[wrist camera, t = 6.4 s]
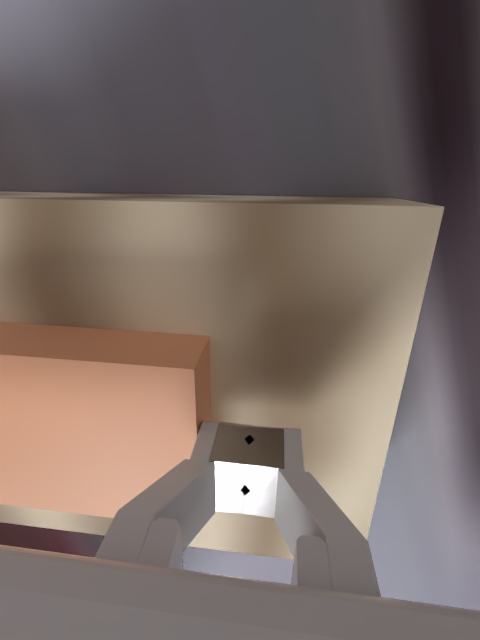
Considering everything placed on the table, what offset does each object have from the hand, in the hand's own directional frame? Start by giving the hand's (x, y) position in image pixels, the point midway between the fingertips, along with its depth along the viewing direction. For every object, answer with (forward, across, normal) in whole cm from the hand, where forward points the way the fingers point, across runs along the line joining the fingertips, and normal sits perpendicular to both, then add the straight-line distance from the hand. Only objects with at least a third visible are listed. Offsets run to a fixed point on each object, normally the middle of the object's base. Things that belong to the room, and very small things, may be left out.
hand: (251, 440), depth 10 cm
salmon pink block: (+1, -6, 0) cm, 6 cm away
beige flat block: (+5, -6, 0) cm, 8 cm away
